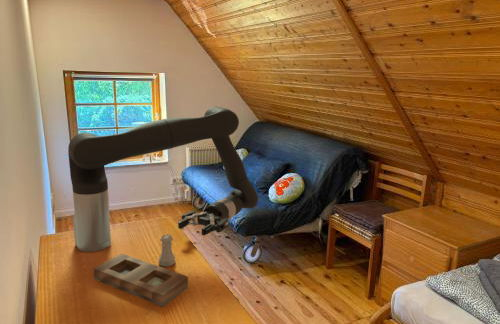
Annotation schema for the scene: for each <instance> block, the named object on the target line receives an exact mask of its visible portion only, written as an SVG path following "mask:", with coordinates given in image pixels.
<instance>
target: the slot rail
mask: <svg viewBox="0 0 500 324" xmlns="http://www.w3.org/2000/svg"><path fill="white" fill-rule="evenodd" d="M93 279H94V280H96V281H98V282H101V283H103V284H105V285H108V286H110V287H112V288H114V289H117V290H120V291H122V292H124V293H127V294H130V295H132V296H135V297H137V298H140V299H141V300H144V301H147V302H149V303H151V304H154V305H156V306H159V307H162V308H164V307H166V305H168V304H169V303H170V302H172V300H175V299H176V298H177V297H178V296H179V295H181V294H182V293H183V292H184V291H185V290H187V289H188V288H189V276H188V275H185V274H183V273H182V274H181V273H180V272H176V271H174V270H170V269H167V268H165V267H163V266H160V265H156V264H153V263H151V262H147V261H145V260H142V259H139V258H136V257H133V256H130V255H127V254H124V253H120V254H118V255H116V256H114V257H113V258H110V259H109V260H106V261H105V262H102V263H100V264H99V265H97V266H95V267H93Z"/></svg>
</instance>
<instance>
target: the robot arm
mask: <svg viewBox="0 0 500 324" xmlns="http://www.w3.org/2000/svg"><path fill="white" fill-rule="evenodd" d="M239 124H240V121H239V117H238V116H237V114H236V113H235V112H234V111H233V110H230V109H228V108H226V107H225V108H224V107H221V106H212V107H210V108H208V109H207V110H206V111H205V113H204V115H203V116H200V117H172V118H171V117H168V118H162V119H158V120H153V121H149V122H145V123H143V124H140V125H138V126H136V127H134V128H131V129H129V130H127V131H125V132H121V133H115V134H108V135H100V136H99V135H96V134H94V133H90V132H80V133H78V134H76V135H75V136H73V137H72V138H71V139H70V142H69V143H68V146H67V147H68V149H67V150H68V154H67V155H68V163H69V172H70V173H69V174H70V175H69V176H70V180H71V181H70V182H71V187H72V197H73V199H72V200H73V208H74V209H73V211H74V214H72V221H73V222H72V223H73V233H74V235H73V236H74V245H75V246H77V247H76V248H77V249H78V251H81V252H85V253H91V252H92V253H93V252H94V253H95V252H98V251H103V250H105V249H107V248H108V247H109V246H111V244H112V237H111V235H112V234H111V219H110V203H109V201H110V200H109V199H110V198H109V183H108V178H107V174H106V168H105V166H107V165H110V164H112V163H113V164H114V163H116V162H118V161H122V160H126V159H129V158H133V157H137V156H143V155H149V154H153V153H157V152H162V151H166V150H170V149H174V148H177V147H182V146H185V145H189V144H191V143H192V144H193V143H195V142H199V141H204V140H208V139H211V140H212V142H213V145H214V146H215V148H216V151H217V153H218V156H219V157H220V160H221V161H220V162H221V163H222V166H223V169H224V172H225V175H226V178H227V181H228V184H229V186H230V187H231V188H232V189H233V190H231V191H230V192H229V194H228V195H227V196H226V197H224V198H222V199H219V200H217V201H215V202H213V203H211V204H209V205H207V206H205V208H204V209H203V211H201V212H196V210H194V209H192V210H190V211H187V212H186V213H185V212H184V213H183V214H181V219H180V221H178V223H177V228H178V229H180V230H181V229H183V228H186V227H187V226H190V225H193V227H194V226H203V227H202V228H201V236H206V235H208V234H210V233H214V232H216V233H221V232H223V231H224V230H225V229H227V228H228V227H229V221H230V220H231V219H232V218H233V217H235V216H236V215H238V214H239V213H241V211H242V210H243V209H254V208H255V207H257V205H258V202H259V197H258V196H259V195H258V192H257V191H256V189H255V187H254V185H253V184H252V183H251V181H250V179H249V178H248V175H247V171H246V168H245V165H244V162H243V160H242V158H241V157H240V155H239V152H238V151H237V149H236V148H235V146H234V144H233V142H232V140H231V135H233V134H234V133H235V132H236V131H237V130H238V127H239ZM196 218H197V221H196Z"/></svg>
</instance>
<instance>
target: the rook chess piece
mask: <svg viewBox="0 0 500 324" xmlns="http://www.w3.org/2000/svg"><path fill="white" fill-rule="evenodd" d="M173 240H174V239H173V237H172V235H171V234H168V233H167V234H162V235H161V238H160V242H161V253H160V256H159V257H158V263H159V266H160V267H163V268H165V267H171V266H173V265H175V263H176V257H175V255H174V253H173V250H172V245H173V243H172V242H173Z"/></svg>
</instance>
